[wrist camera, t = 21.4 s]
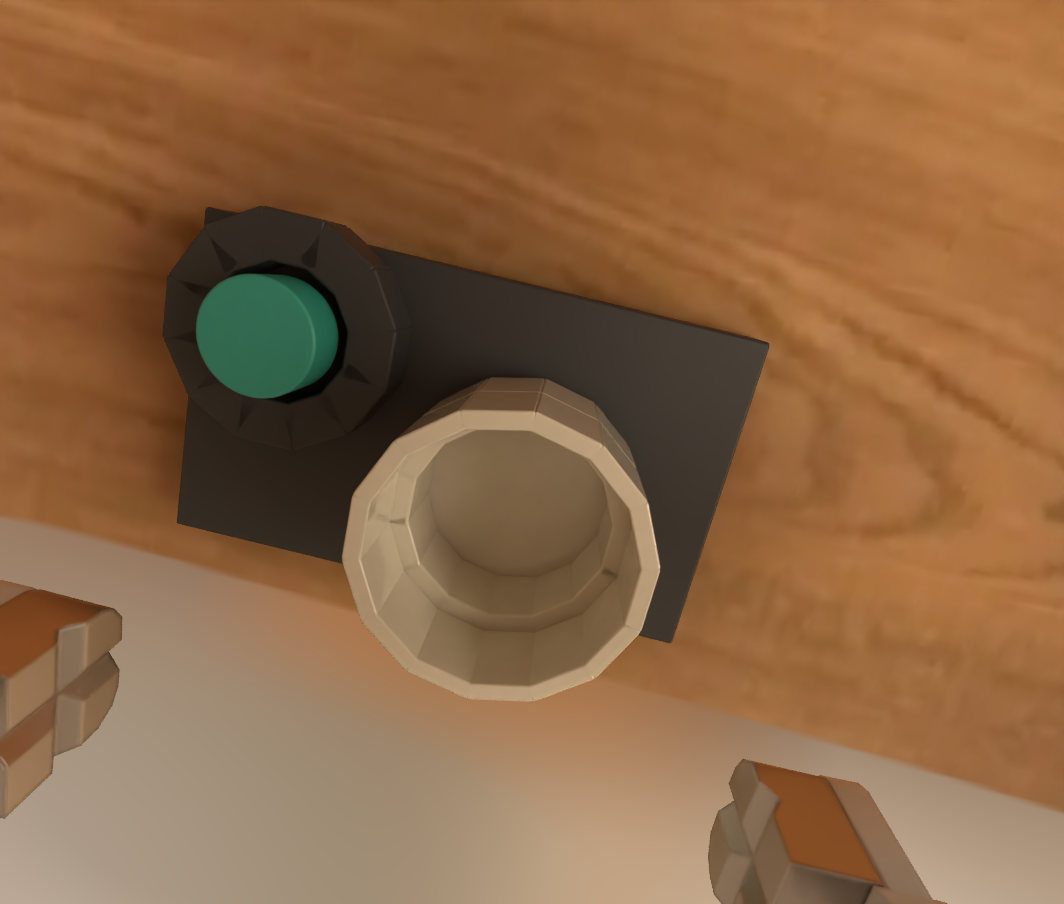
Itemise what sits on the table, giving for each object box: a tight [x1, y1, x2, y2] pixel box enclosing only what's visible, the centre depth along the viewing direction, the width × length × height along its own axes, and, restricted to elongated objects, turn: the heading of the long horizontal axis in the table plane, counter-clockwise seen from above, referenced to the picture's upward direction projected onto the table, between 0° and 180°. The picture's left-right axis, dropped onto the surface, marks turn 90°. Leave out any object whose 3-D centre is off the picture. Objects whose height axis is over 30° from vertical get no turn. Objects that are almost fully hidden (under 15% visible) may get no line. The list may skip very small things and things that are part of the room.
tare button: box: [196, 274, 338, 399], centre depth 15 cm, size 3×3×2 cm
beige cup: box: [342, 377, 660, 702], centre depth 15 cm, size 6×6×5 cm
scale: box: [163, 206, 769, 643], centre depth 18 cm, size 15×9×3 cm, turn 77°
